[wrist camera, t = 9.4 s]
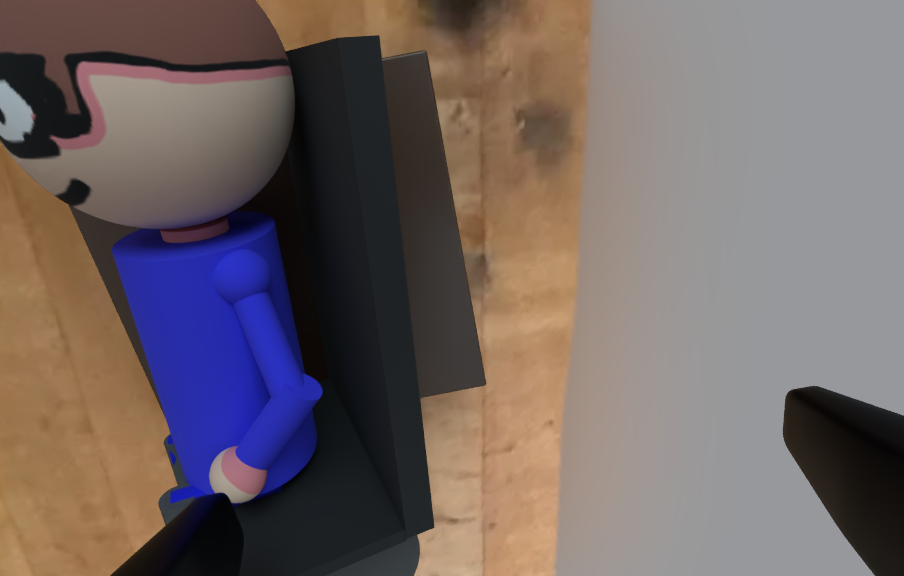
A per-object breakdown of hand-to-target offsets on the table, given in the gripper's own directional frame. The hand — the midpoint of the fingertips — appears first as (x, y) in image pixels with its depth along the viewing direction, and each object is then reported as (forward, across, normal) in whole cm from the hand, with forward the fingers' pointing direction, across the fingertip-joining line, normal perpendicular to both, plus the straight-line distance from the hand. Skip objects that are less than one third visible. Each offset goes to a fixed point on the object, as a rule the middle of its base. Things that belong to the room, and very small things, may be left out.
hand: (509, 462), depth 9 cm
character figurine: (+8, +5, -1) cm, 10 cm away
